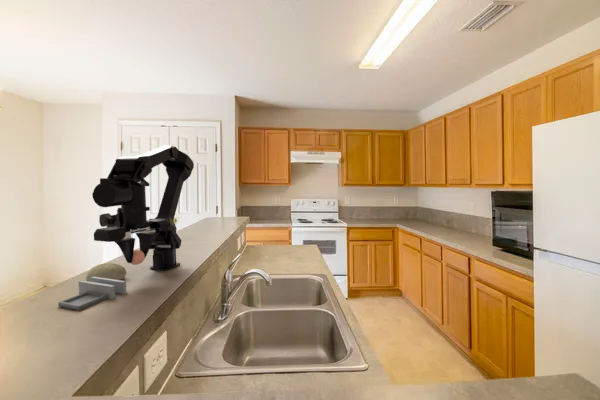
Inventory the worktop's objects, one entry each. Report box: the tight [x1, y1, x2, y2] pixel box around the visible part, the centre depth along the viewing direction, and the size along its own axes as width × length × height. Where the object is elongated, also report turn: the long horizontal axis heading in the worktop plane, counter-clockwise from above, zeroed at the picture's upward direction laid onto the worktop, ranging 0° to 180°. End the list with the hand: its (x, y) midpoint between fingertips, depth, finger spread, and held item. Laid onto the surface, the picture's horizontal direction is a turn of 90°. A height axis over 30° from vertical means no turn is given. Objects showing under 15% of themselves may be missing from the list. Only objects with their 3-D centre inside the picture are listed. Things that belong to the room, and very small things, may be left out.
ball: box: [130, 249, 146, 266], centre depth 77 cm, size 4×4×4 cm
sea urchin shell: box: [85, 262, 127, 282], centre depth 79 cm, size 9×8×8 cm
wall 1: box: [78, 280, 116, 300], centre depth 69 cm, size 1×11×3 cm, turn 72°
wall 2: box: [91, 277, 127, 295], centre depth 72 cm, size 1×11×3 cm, turn 72°
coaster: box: [58, 291, 108, 312], centre depth 65 cm, size 6×6×1 cm
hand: (136, 260), depth 77 cm, fingers closed on ball, 4 cm apart
